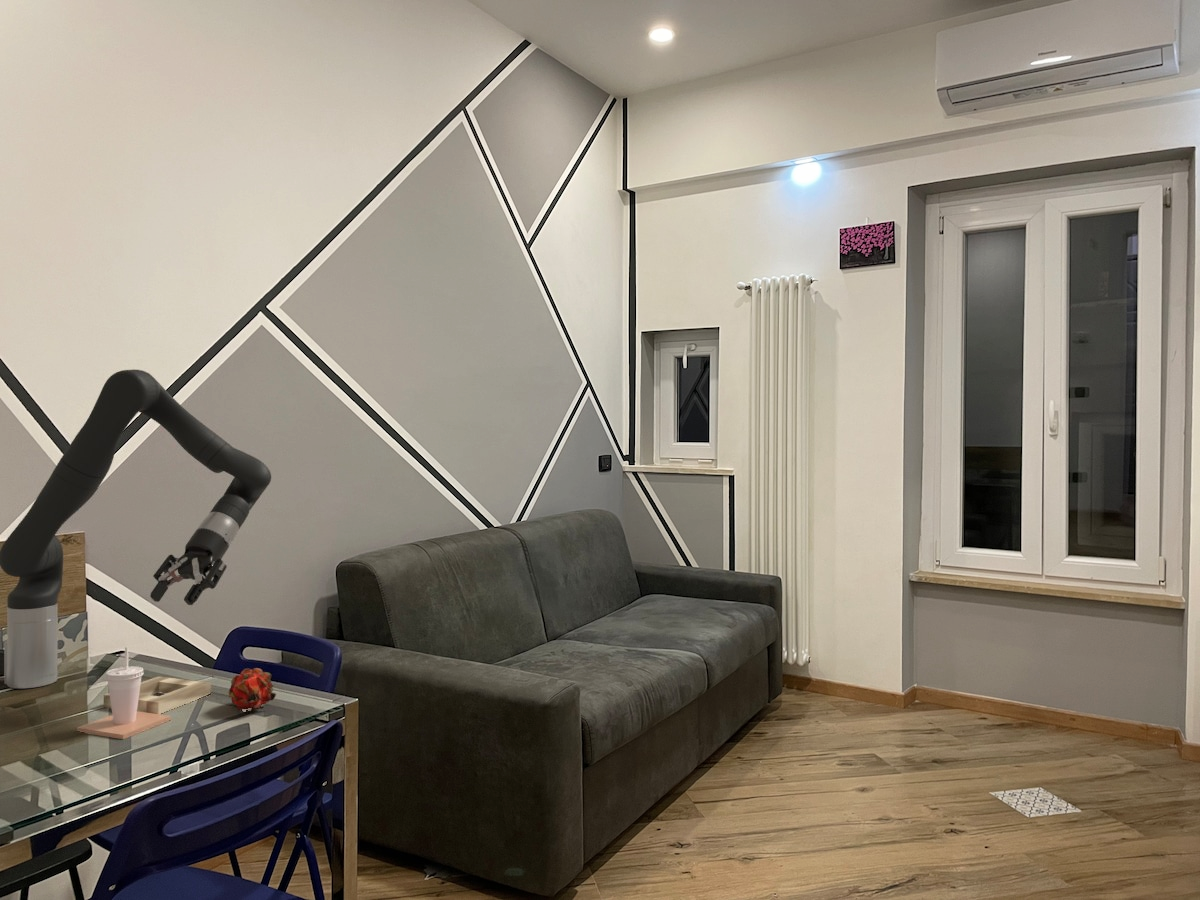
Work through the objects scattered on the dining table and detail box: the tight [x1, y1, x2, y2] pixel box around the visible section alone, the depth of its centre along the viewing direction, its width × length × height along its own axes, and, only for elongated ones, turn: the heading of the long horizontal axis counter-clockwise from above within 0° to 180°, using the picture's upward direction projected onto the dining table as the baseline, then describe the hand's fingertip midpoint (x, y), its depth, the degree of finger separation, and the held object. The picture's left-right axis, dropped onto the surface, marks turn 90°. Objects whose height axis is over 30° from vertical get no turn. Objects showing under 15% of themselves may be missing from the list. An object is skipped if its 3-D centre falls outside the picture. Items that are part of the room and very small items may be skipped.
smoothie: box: [104, 646, 144, 724], centre depth 163 cm, size 6×6×14 cm
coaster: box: [76, 711, 172, 740], centre depth 163 cm, size 11×11×1 cm
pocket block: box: [103, 675, 212, 715], centre depth 178 cm, size 14×14×2 cm
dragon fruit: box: [228, 667, 277, 712], centre depth 174 cm, size 8×8×12 cm
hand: (170, 601), depth 173 cm, fingers open, 8 cm apart
